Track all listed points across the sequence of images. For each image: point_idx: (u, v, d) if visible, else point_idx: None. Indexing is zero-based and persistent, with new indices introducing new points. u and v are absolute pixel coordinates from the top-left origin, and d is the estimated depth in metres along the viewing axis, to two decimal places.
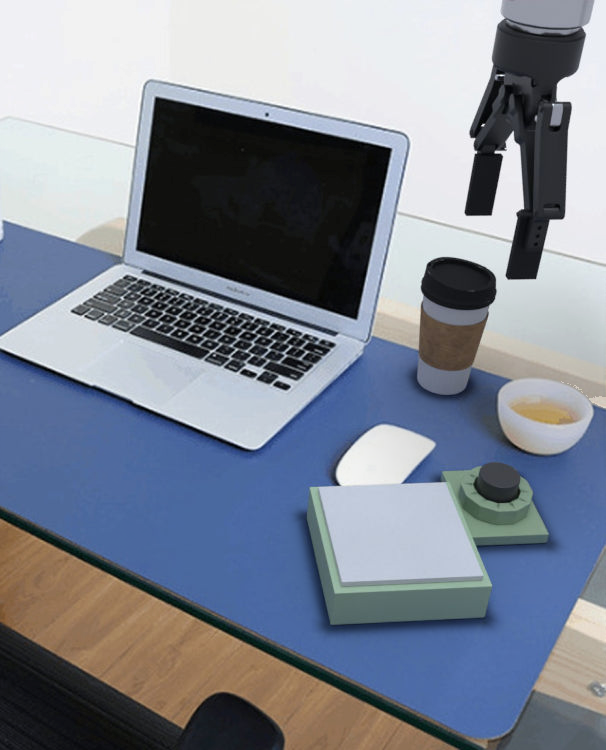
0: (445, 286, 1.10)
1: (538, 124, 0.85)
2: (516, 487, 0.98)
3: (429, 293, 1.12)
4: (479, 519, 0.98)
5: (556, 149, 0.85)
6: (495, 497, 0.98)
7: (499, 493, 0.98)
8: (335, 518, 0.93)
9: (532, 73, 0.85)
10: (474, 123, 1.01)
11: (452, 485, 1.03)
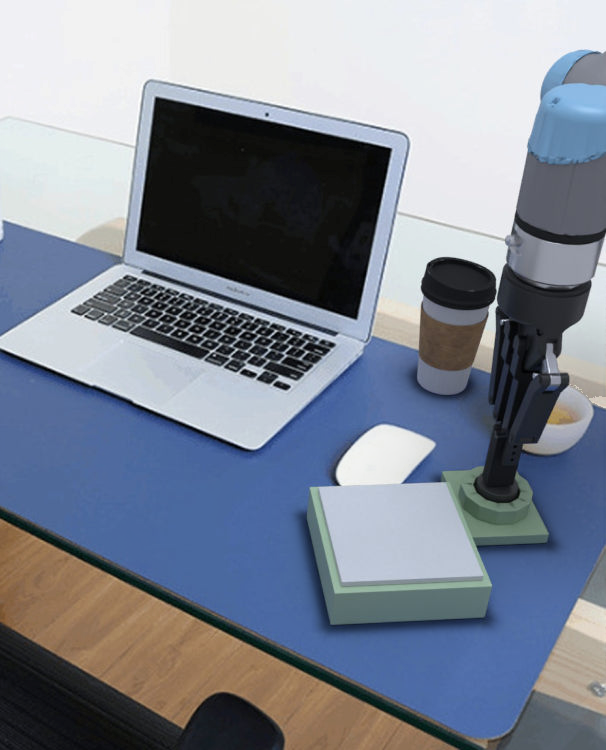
0: (445, 286, 1.10)
1: (534, 385, 0.87)
2: (514, 495, 0.99)
3: (429, 293, 1.12)
4: (479, 519, 0.98)
5: (544, 405, 0.88)
6: None
7: (497, 501, 0.98)
8: (335, 518, 0.93)
9: (538, 324, 0.85)
10: (491, 387, 0.97)
11: (452, 485, 1.03)
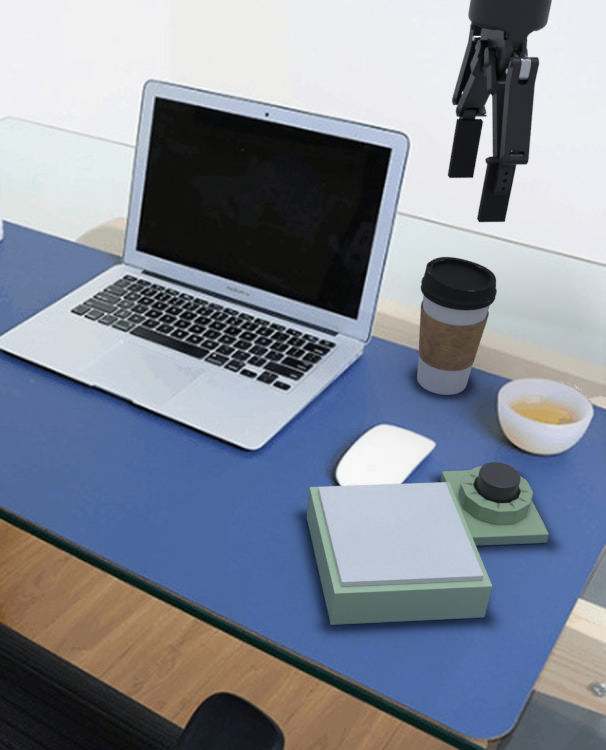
0: (445, 286, 1.10)
1: (508, 77, 0.94)
2: (516, 487, 0.98)
3: (429, 293, 1.12)
4: (479, 519, 0.98)
5: (523, 101, 0.94)
6: (495, 497, 0.98)
7: (499, 493, 0.98)
8: (335, 518, 0.93)
9: (504, 26, 0.94)
10: (456, 90, 1.09)
11: (452, 485, 1.03)
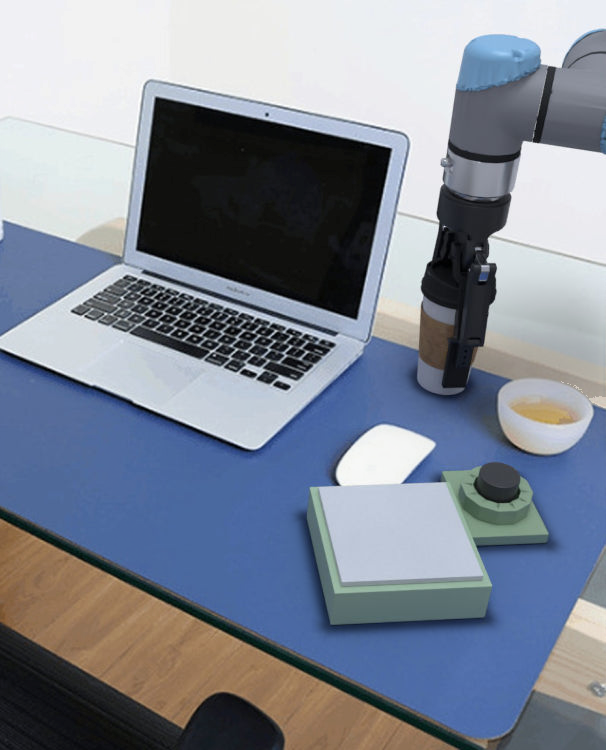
0: (445, 286, 1.10)
1: (469, 278, 1.06)
2: (516, 487, 0.98)
3: (429, 293, 1.12)
4: (479, 519, 0.98)
5: (481, 298, 1.07)
6: (495, 497, 0.98)
7: (499, 493, 0.98)
8: (335, 518, 0.93)
9: (467, 230, 1.05)
10: None
11: (452, 485, 1.03)
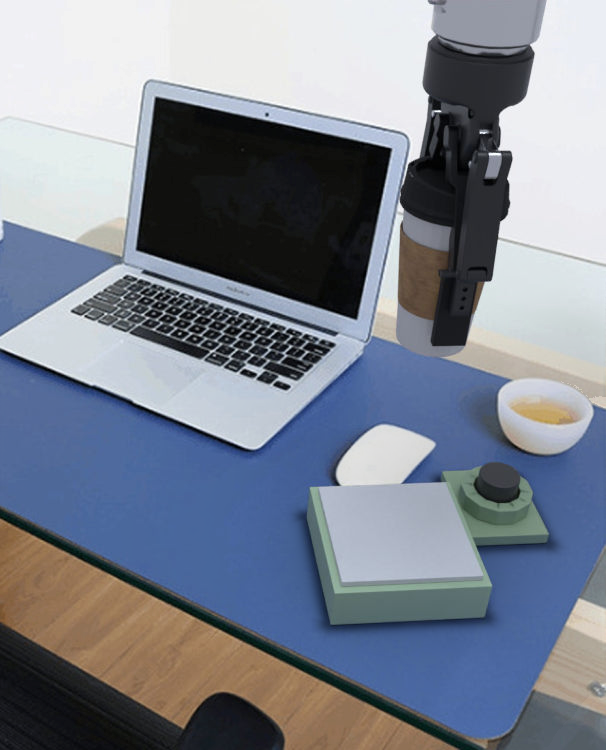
0: (434, 192, 0.74)
1: (471, 174, 0.70)
2: (516, 487, 0.98)
3: (412, 204, 0.76)
4: (479, 519, 0.98)
5: (489, 206, 0.71)
6: (495, 497, 0.98)
7: (499, 493, 0.98)
8: (335, 518, 0.93)
9: (468, 101, 0.70)
10: None
11: (452, 485, 1.03)
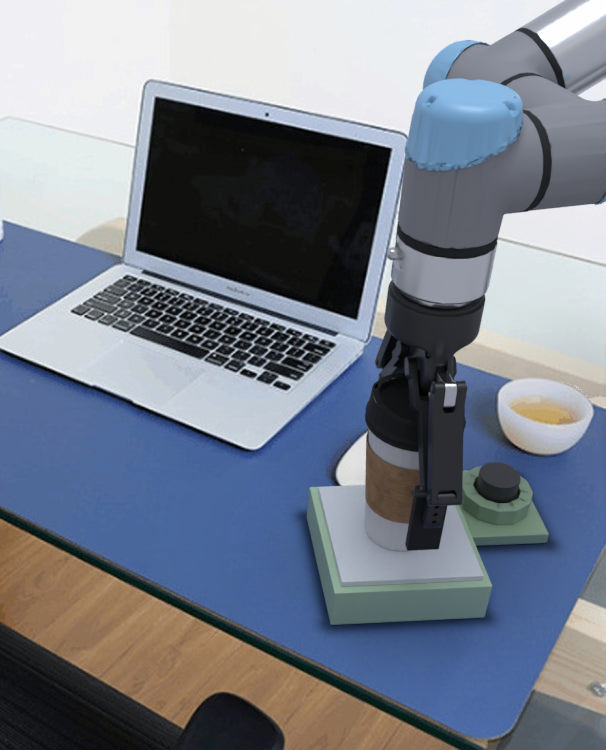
0: (395, 420, 0.82)
1: (431, 404, 0.76)
2: (516, 487, 0.98)
3: (375, 426, 0.83)
4: (479, 519, 0.98)
5: (451, 432, 0.76)
6: (495, 497, 0.98)
7: (499, 493, 0.98)
8: (335, 518, 0.93)
9: (424, 346, 0.77)
10: (379, 355, 0.92)
11: None
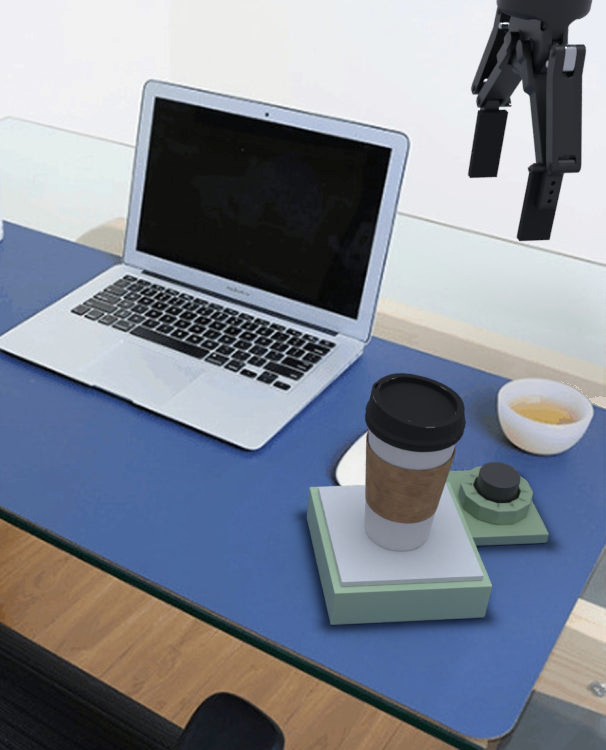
0: (395, 420, 0.82)
1: (550, 69, 0.79)
2: (516, 487, 0.98)
3: (375, 426, 0.83)
4: (479, 519, 0.98)
5: (570, 96, 0.79)
6: (495, 497, 0.98)
7: (499, 493, 0.98)
8: (335, 518, 0.93)
9: (542, 15, 0.79)
10: (476, 78, 0.94)
11: (452, 485, 1.03)
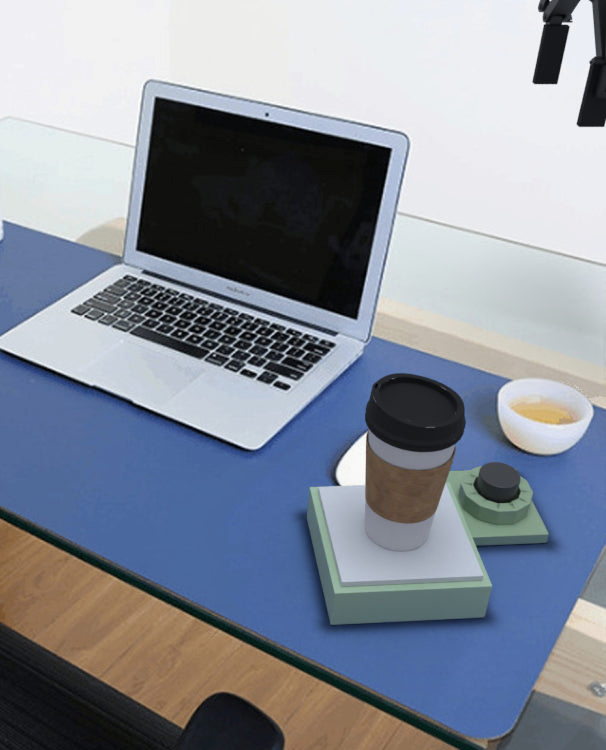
0: (395, 420, 0.82)
1: None
2: (516, 487, 0.98)
3: (375, 426, 0.83)
4: (479, 519, 0.98)
5: None
6: (495, 497, 0.98)
7: (499, 493, 0.98)
8: (335, 518, 0.93)
9: None
10: None
11: (452, 485, 1.03)
